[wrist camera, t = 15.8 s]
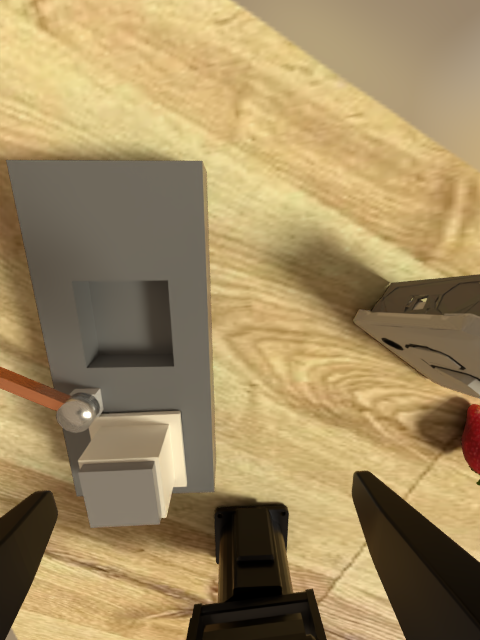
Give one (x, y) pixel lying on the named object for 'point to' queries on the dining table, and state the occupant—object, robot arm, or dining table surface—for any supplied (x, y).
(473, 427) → the fruit
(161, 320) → the grey socket base
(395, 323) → the electrical switch
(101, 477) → the plug
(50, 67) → the dining table surface
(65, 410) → the copper link
